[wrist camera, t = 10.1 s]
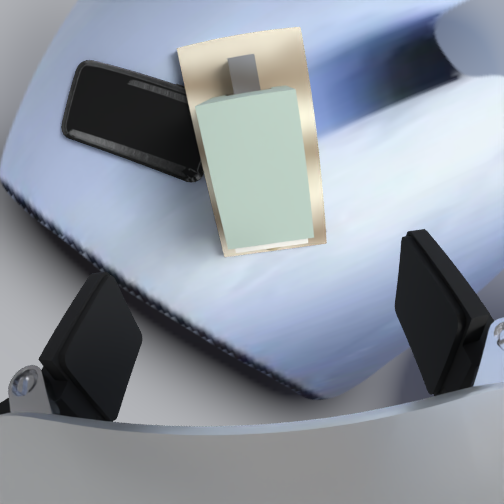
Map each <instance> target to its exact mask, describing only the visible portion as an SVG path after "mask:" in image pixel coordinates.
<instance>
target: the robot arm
mask: <svg viewBox="0 0 504 504" xmlns="http://www.w3.org/2000/svg"><path fill="white" fill-rule="evenodd" d="M395 311H396V314H397V317H398V319H399V321H400V324H401V326H402V328H403V330H404V333H405V335H406V337H407V340H408V342H409V345H410V347H411V349H412V352H413V354H414V357H415V359H416V362H417V364H418V367H419V369H420V372H421V374H422V377H423V380H424V382H425V385H426V388H427V390H428V392H429V394H434V397H430V398H426V399H422V400H418V401H413V402H409V403H405V404H400V405H395V406H391V407H386V408H381V409H376V410H371V411H366V412H360V413H354V414H349V415H342V416H336V417H329V418H322V419H315V420H306V421H297V422H286V423H275V424H261V425H245V426H211V427H210V426H208V427H207V426H205V427H204V426H199V427H198V426H196V427H195V426H192V427H191V426H160V425H143V424H129V423H119V422H113V421H114V420H116V418H117V416H118V413H119V410H120V407H121V403H122V400H123V397H124V394H125V391H126V388H127V385H128V381H129V379H130V376H131V373H132V369H133V367H134V364H135V361H136V358H137V355H138V352H139V349H140V346H141V344H142V334H141V331H140V329H139V327H138V326H137V324H136V322H135V320H134V318H133V316H132V314H131V312H130V310H129V308H128V306H127V304H126V302H125V299H124V297H123V295H122V293H121V291H120V289H119V287H118V285H117V282H116V280H115V278H114V277H113V276H110V274H109V273H107V272H101V273H93V274H91V275H90V276H89V277H88V279H87V280H86V282H85V284H84V285H83V286H82V288H81V290H80V291H79V293H78V294H77V296H76V297H75V299H74V300H73V302H72V304H71V305H70V307H69V308H68V310H67V311H66V313H65V315H64V316H63V318H62V320H61V321H60V323H59V325H58V326H57V328H56V330H55V331H54V333H53V335H52V336H51V338H50V340H49V341H48V343H47V345H46V347H45V348H44V350H43V352H42V354H41V356H40V357H39V361H40V362H41V363H42V365H43V368H42V370H41V369H40V368H39V367H38V366H35V365H30V366H26V367H24V368H22V369H20V370H19V371H18V372H17V373H16V374H15V375H14V376H13V378H12V379H11V381H10V384H9V387H8V394H9V398H7V399H6V400H4V401H3V402H1V403H0V504H504V318H500V319H497V320H495V321H494V320H493V319H492V317H491V315H490V313H489V312H488V310H487V309H486V307H485V306H484V305H483V303H482V302H481V300H480V299H479V297H478V296H477V294H476V293H475V292H474V290H473V289H472V288H471V286H470V285H469V283H468V282H467V281H466V279H465V278H464V277H463V275H462V274H461V273H460V271H459V270H458V269H457V268H456V266H455V265H454V264H453V262H452V261H451V260H450V259H449V257H448V256H447V255H446V254H445V252H444V251H443V250H442V249H441V247H440V246H439V245H438V244H437V242H436V241H435V240H434V239H433V238H432V236H431V235H430V234H429V233H428V232H427V231H426V230H425V229H422V230H415V231H408V232H407V234H406V236H405V237H402V240H401V252H400V263H399V273H398V283H397V291H396V299H395Z"/></svg>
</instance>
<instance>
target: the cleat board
mask: <svg viewBox="0 0 504 504" xmlns="http://www.w3.org/2000/svg"><path fill="white" fill-rule="evenodd" d="M177 52H178V57H179V62H180V66H181V71H182V76H183V81H184V85H185V90H186V95H187V99H188V104H189V108H190V113H191V118H192V122H193V126H194V131H195V135H196V140H197V144H198V149H199V153H200V157H201V162H202V166H203V170H204V175H205V179H206V183H207V187H208V191H209V196H210V200H211V204H212V208H213V212H214V216H215V221H216V225H217V229H218V233H219V237H220V241H221V245H222V249H223V253H224V257H230V256H237V255H245V254H252V253H260V252H267V251H270V250H266V249H262V250H255V251H248V252H240V253H236V251H235V249H229V250H228V247H227V242H226V238H225V234H224V230H223V226H222V222H221V218H220V213H219V209H218V205H217V201H216V197H215V192H214V188H213V184H212V180H211V175H210V171H209V167H208V162H207V158H206V154H205V149H204V145H203V140H202V136H201V132H200V127H199V123H198V118H197V114H196V109H195V106H197V105H199V104H201V103H203V102H205V101H207V100H209V99H210V98H213V97H218V96H223V95H227V96H230V95H235V94H241V93H247V92H253V91H259V90H266V89H271V87H277V86H284V85H286V86H289V87H291V88H293V89H296V95H297V101H298V108H299V115H300V121H301V129H302V136H303V143H304V151H305V158H306V166H307V175H308V183H309V192H310V201H311V211H312V221H313V231H314V238H308V243H305V244H298V245H291V246H284V247H280V248H279V249H277V250H282V249H289V248H297V247H304V246H311V245H319V244H326V243H327V242H326V227H325V213H324V201H323V189H322V179H321V169H320V159H319V150H318V141H317V133H316V125H315V117H314V109H313V102H312V95H311V88H310V81H309V75H308V68H307V62H306V56H305V50H304V45H303V39H302V33H301V28H300V27H293V28H283V29H274V30H266V31H259V32H252V33H246V34H240V35H234V36H229V37H224V38H219V39H214V40H209V41H205V42H200V43H196V44H192V45H188V46H184V47H180V48H177ZM272 251H274V250H272Z"/></svg>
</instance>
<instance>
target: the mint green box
mask: <svg viewBox="0 0 504 504" xmlns="http://www.w3.org/2000/svg"><path fill="white" fill-rule="evenodd" d="M195 109H196V114H197V118H198V123H199V127H200V132H201V136H202V140H203V145H204V149H205V154H206V158H207V162H208V167H209V171H210V175H211V180H212V184H213V188H214V192H215V197H216V201H217V205H218V209H219V213H220V218H221V222H222V226H223V230H224V234H225V238H226V242H227V247H228V250H229V249H235V251H236V253H240V252H248V251H255V250H262V249H266V250H270V251H272V250H277V249H279V248H280V247H284V246H291V245H298V244H305V243H308V238H314V231H313V221H312V211H311V201H310V192H309V183H308V175H307V166H306V158H305V151H304V143H303V136H302V129H301V121H300V115H299V108H298V101H297V95H296V89H293V88H291V87H289V86H286V85H284V86H277V87H271V89H266V90H259V91H253V92H247V93H241V94H235V95H230V96H227V95H223V96H218V97H213V98H210V99H209V100H207V101H205V102H203V103H201V104H199V105H197V106H195Z"/></svg>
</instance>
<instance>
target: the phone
mask: <svg viewBox="0 0 504 504" xmlns="http://www.w3.org/2000/svg"><path fill="white" fill-rule="evenodd" d="M61 128H62V132H63V134H64V135H65V136H66V137H67V138H69V139H72V140H75V141H78V142H81V143H84V144H87V145H89V146H92V147H95V148H98V149H101V150H104V151H106V152H109V153H112V154H115V155H117V156H120V157H123V158H126V159H128V160H131V161H134V162H136V163H139V164H142V165H145V166H147V167H150V168H152V169H155V170H158V171H160V172H163V173H166V174H168V175H171V176H173V177H176V178H179V179H181V180H184V181H186V182H196V181H198V180H199V179H201V177H202V176H203V174H204V170H203V166H202V162H201V157H200V153H199V149H198V144H197V140H196V135H195V131H194V126H193V122H192V118H191V113H190V108H189V104H188V99H187V95H186V90H185V86H182V85H179V84H176V85H175V84H172V83H169V82H166V81H163V80H160V79H157V78H154V77H151V76H148V75H144V74H141V73H138V72H134V71H131V70H127V69H124V68H120V67H117V66H113V65H109V64H105V63H101V62H97V61H93V60H86V61H83V62H82V63H80V64H79V65H78V67H77V69H76V72H75V75H74V78H73V82H72V85H71V89H70V92H69V96H68V100H67V104H66V108H65V112H64V116H63V120H62V126H61Z"/></svg>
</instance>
